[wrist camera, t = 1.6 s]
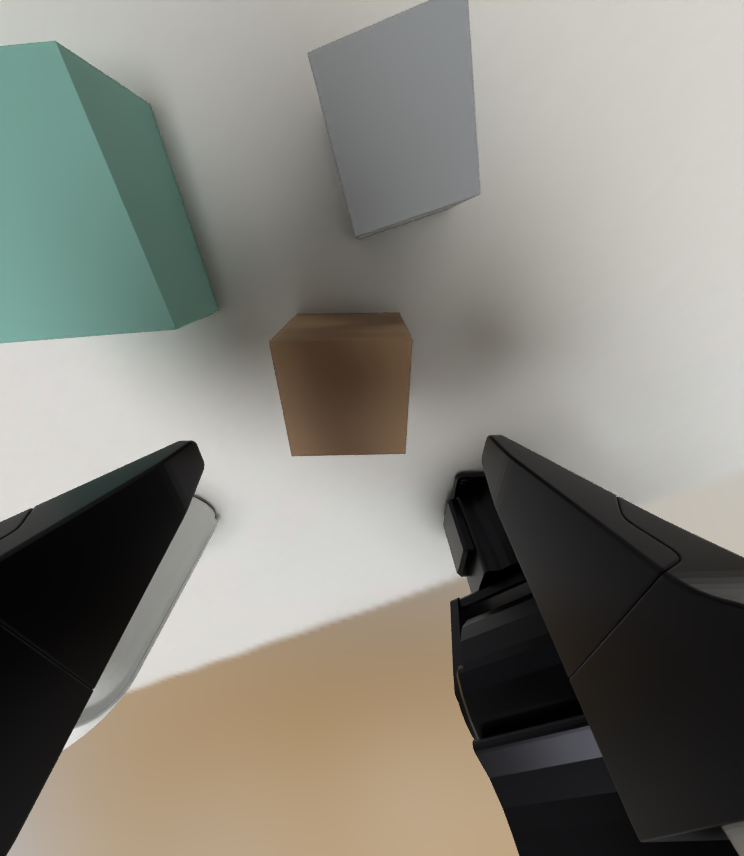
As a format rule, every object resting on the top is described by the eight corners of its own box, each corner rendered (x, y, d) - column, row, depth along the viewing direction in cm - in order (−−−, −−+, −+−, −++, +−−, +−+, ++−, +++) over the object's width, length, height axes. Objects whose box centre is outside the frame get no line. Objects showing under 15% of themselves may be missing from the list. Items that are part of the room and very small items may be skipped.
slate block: (432, 72, 10) (466, -16, 7) (448, 209, 12) (480, 194, 9) (325, 114, 11) (307, 52, 7) (357, 239, 13) (355, 236, 9)
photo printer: (151, 566, 25) (-5, 800, 14) (101, 541, 23) (-121, 789, 12) (231, 516, 22) (105, 767, 11) (181, 482, 20) (-27, 745, 9)
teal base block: (154, 106, 11) (55, 40, 7) (220, 309, 14) (176, 329, 11) (-32, 124, 11) (-216, 67, 7) (82, 320, 14) (-5, 343, 11)
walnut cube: (398, 312, 14) (412, 339, 10) (395, 402, 17) (405, 453, 13) (297, 313, 14) (268, 341, 10) (310, 404, 17) (291, 456, 13)
